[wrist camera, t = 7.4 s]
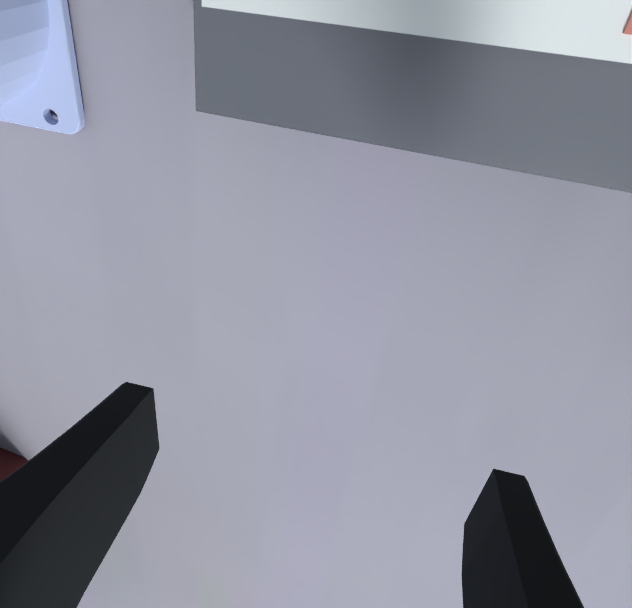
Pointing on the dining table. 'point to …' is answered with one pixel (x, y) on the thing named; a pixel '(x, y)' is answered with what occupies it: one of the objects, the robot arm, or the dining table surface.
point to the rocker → (475, 21)
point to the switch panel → (420, 94)
